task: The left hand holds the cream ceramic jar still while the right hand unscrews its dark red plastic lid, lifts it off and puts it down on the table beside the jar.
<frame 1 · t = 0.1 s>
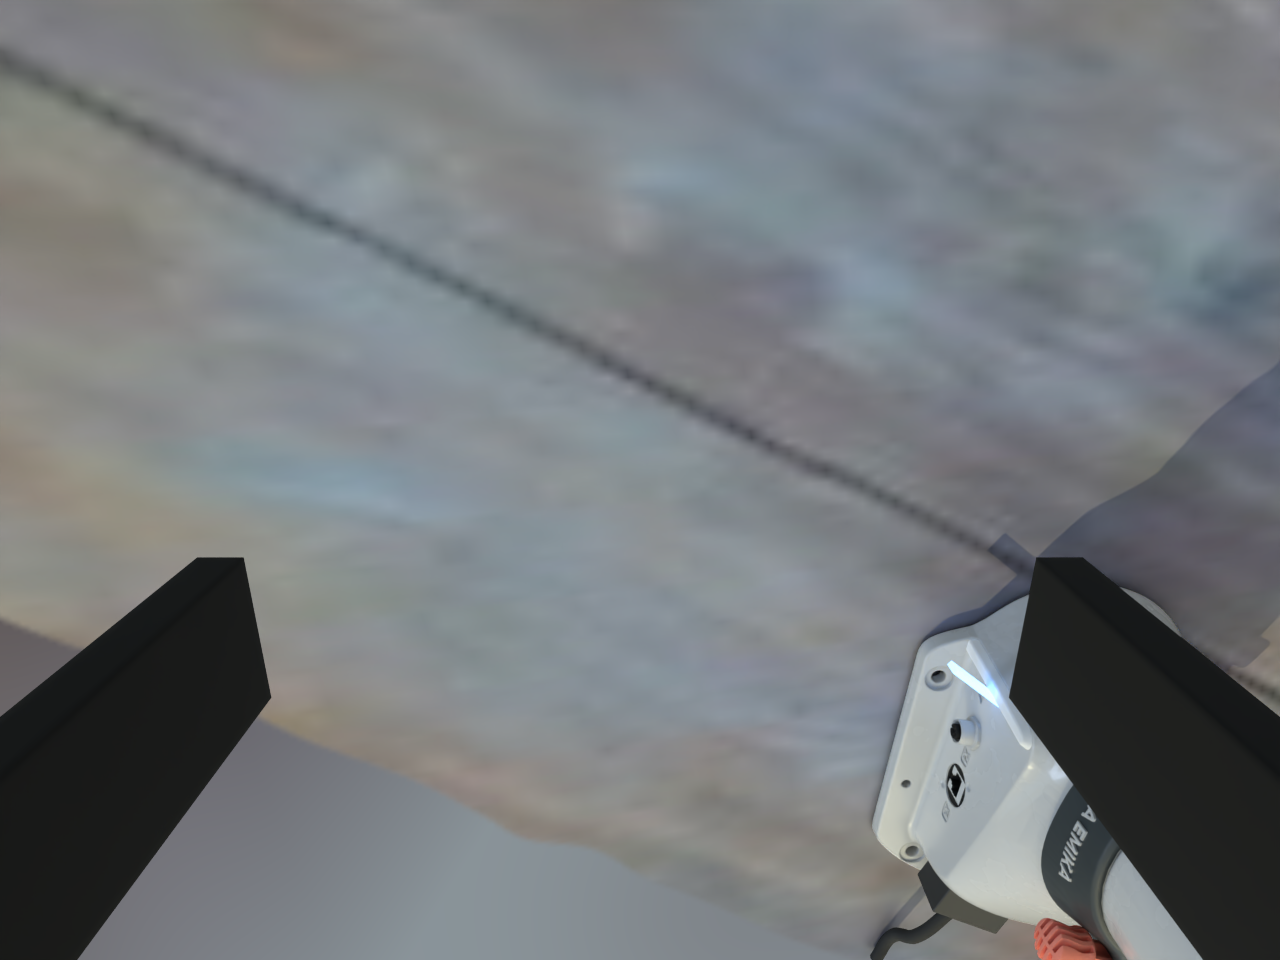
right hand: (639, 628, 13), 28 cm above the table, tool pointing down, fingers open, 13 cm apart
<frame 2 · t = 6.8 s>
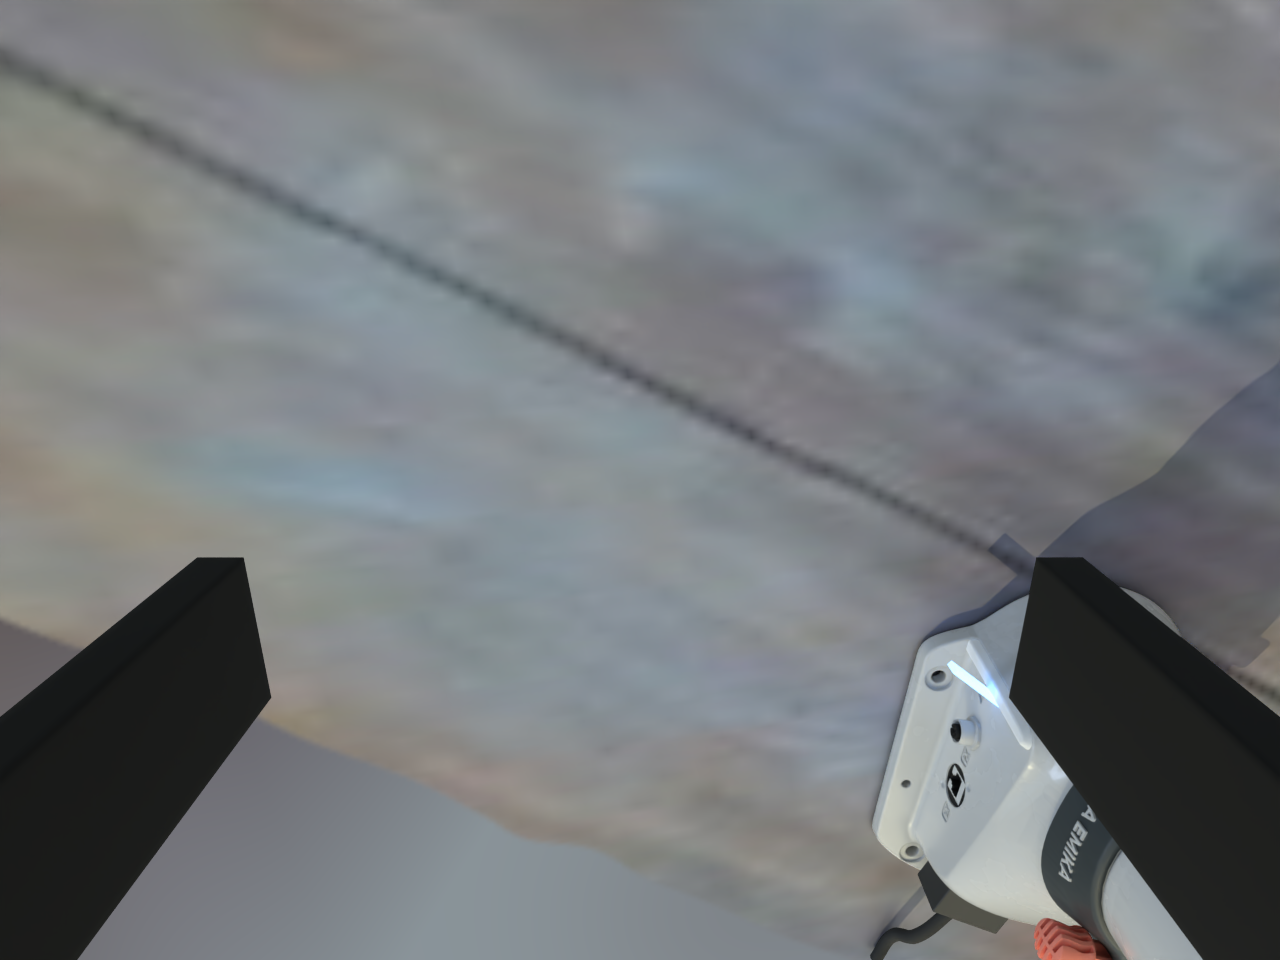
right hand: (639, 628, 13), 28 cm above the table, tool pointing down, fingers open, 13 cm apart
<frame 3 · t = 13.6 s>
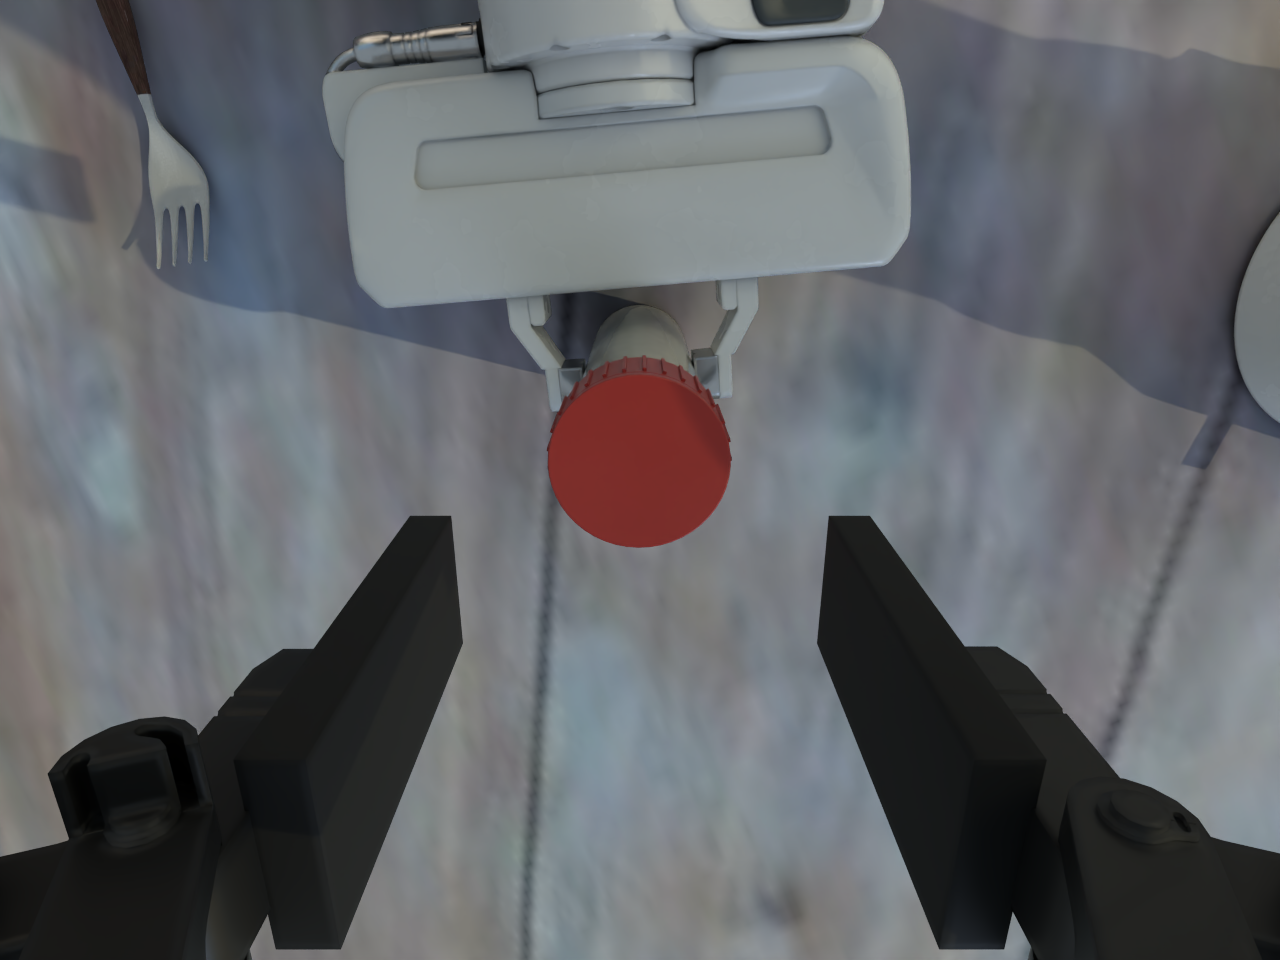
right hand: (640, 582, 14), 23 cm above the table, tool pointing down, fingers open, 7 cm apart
left hand: (642, 401, 31), fingers closed on jar, 4 cm apart
fork: (144, 67, 32), on the table
jar: (639, 352, 36), on the table, touching left hand
lid: (639, 460, 21), point 16 cm above the table, screwed on, not yet turned
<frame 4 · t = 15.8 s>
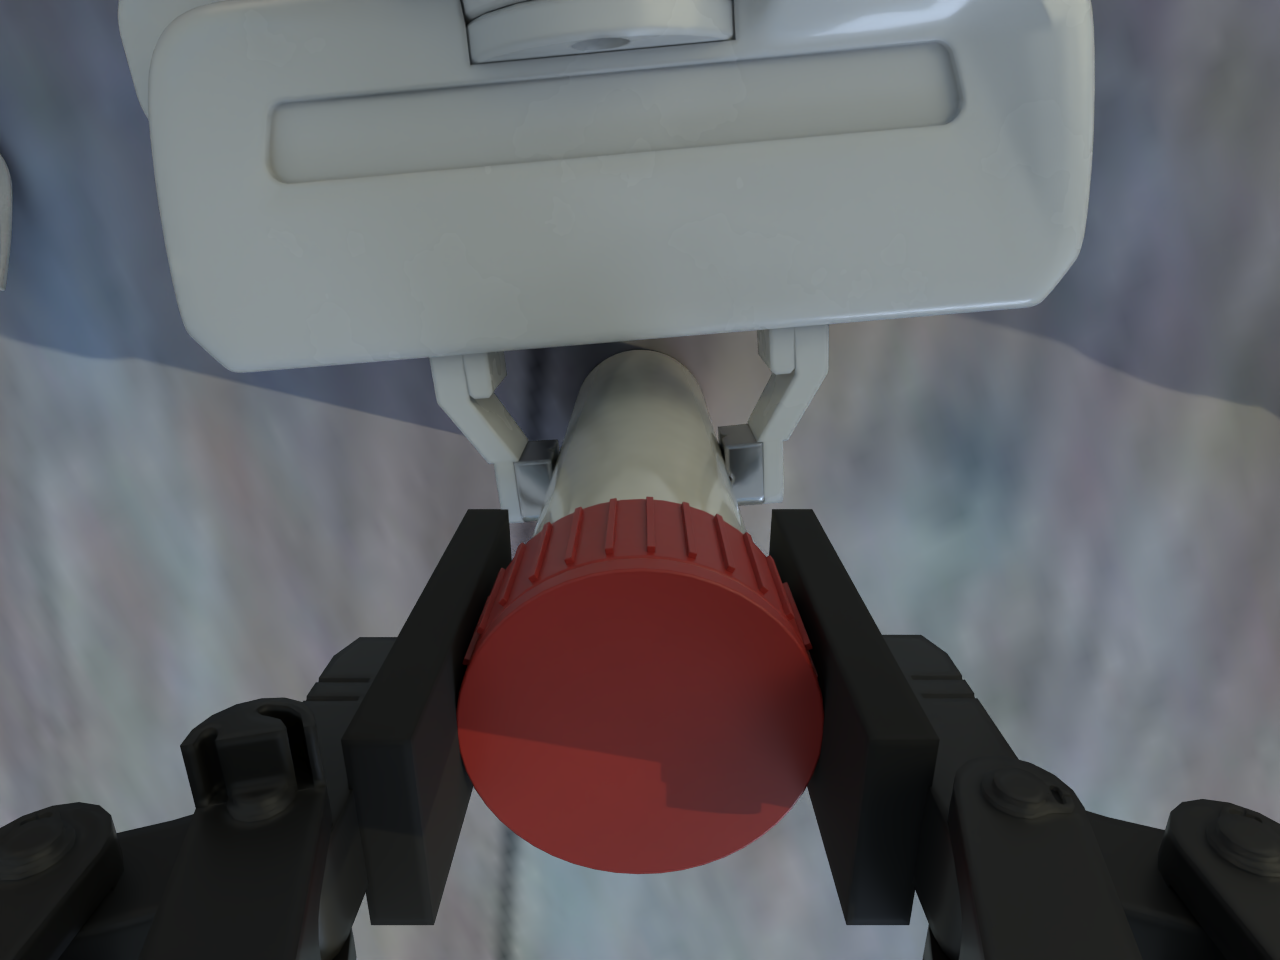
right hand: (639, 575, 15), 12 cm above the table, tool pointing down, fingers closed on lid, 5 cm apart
left hand: (644, 505, 20), fingers closed on jar, 4 cm apart
jar: (640, 414, 26), on the table, touching left hand
lid: (640, 718, 11), point 16 cm above the table, screwed on, not yet turned, touching right hand
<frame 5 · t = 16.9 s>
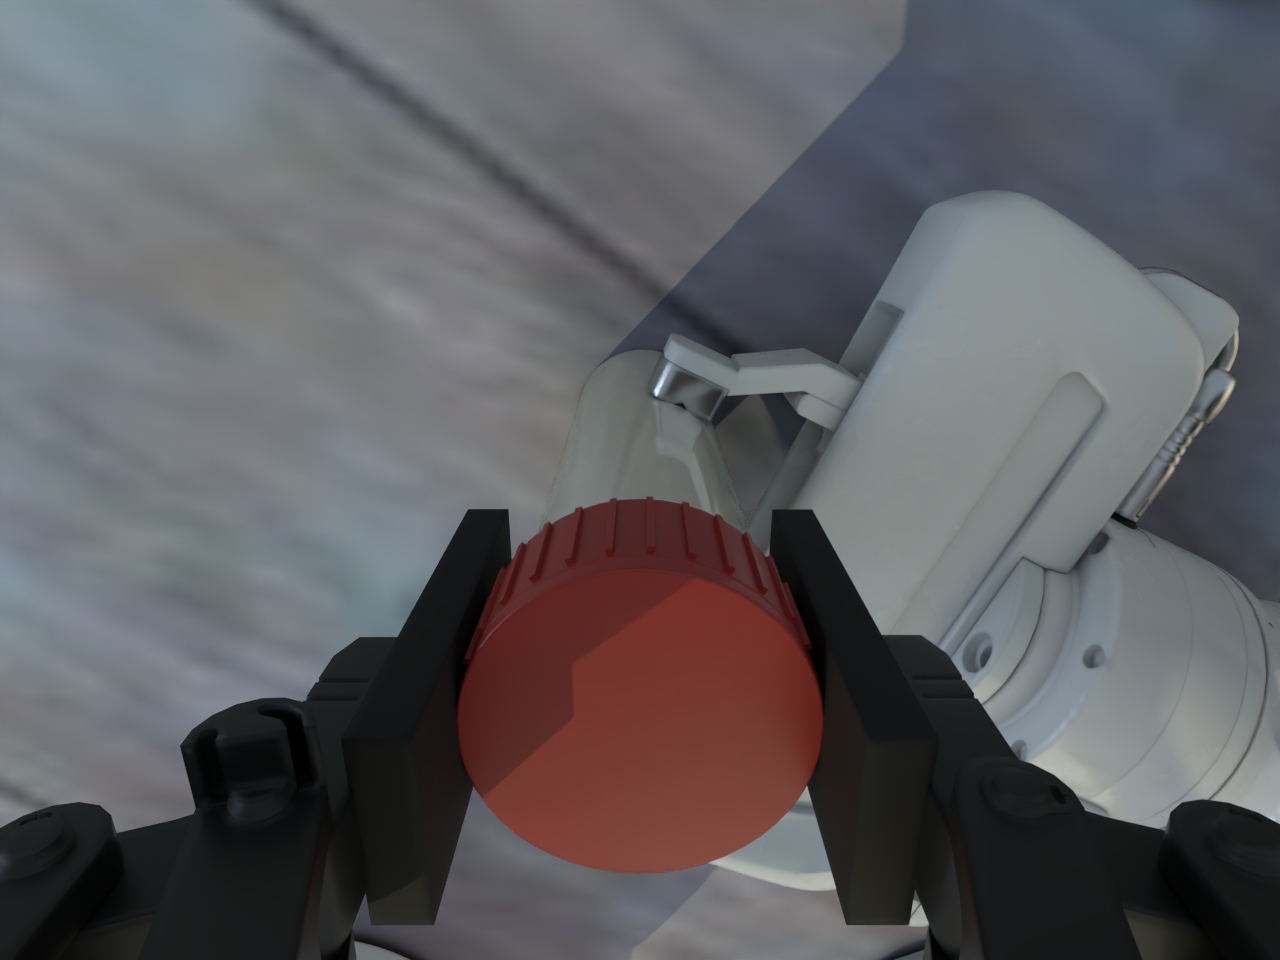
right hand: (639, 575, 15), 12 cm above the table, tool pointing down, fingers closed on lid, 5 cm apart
left hand: (612, 458, 21), fingers closed on jar, 4 cm apart
jar: (642, 412, 26), on the table, touching left hand
lid: (640, 718, 11), point 17 cm above the table, off its thread, touching right hand
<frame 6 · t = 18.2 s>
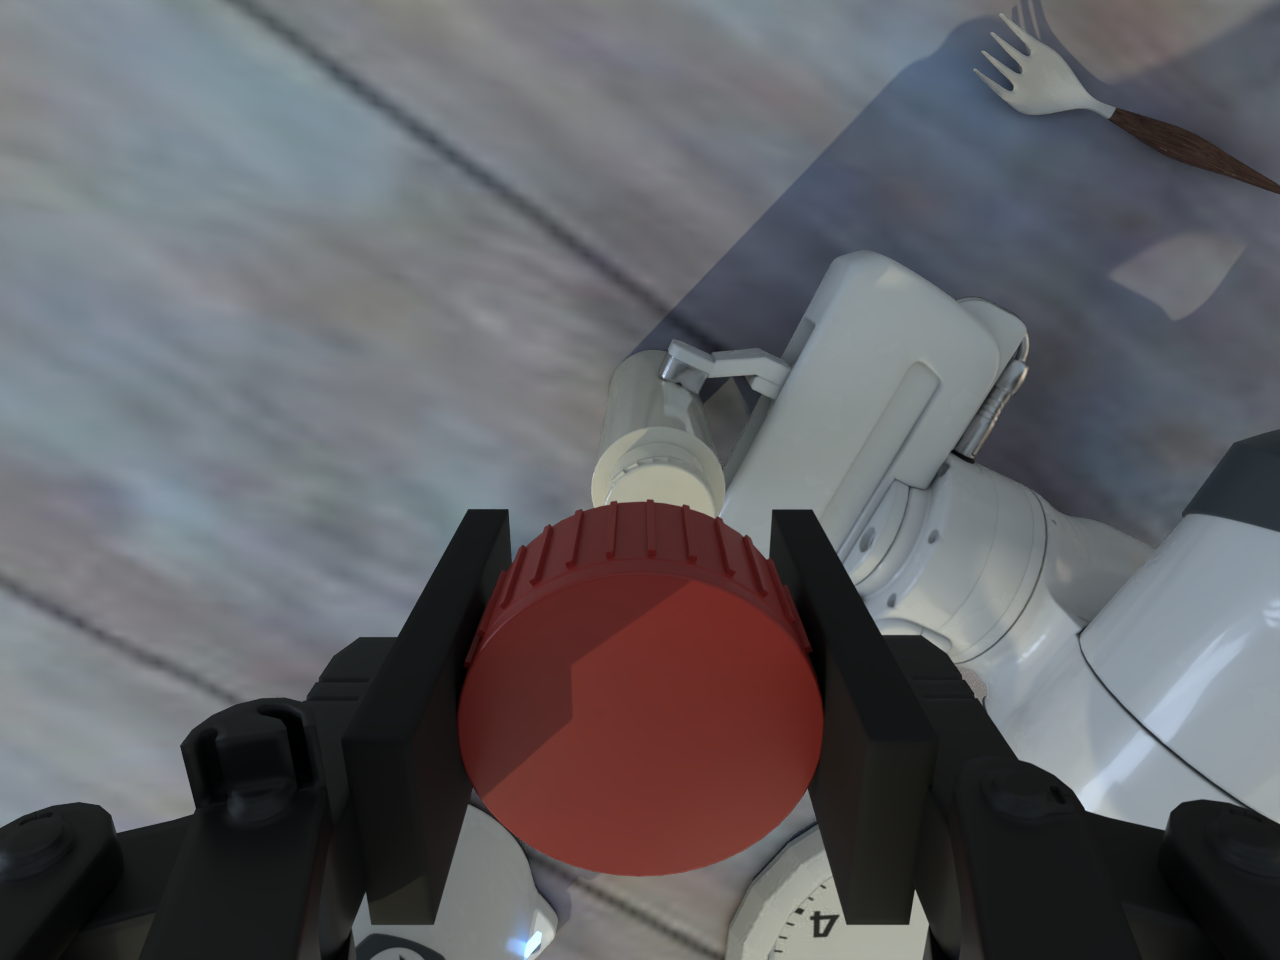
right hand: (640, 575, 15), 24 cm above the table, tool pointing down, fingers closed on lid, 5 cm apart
left hand: (635, 418, 32), fingers closed on jar, 4 cm apart
fork: (1124, 125, 34), on the table
jar: (653, 393, 38), on the table, touching left hand
lid: (640, 721, 11), point 28 cm above the table, off its thread, touching right hand
wall clock: (948, 956, 51), on the table
when the right hand's fingers open (0 cm above the table, at t = 22.5 s): lid drops 2 cm, point 2 cm above the table.
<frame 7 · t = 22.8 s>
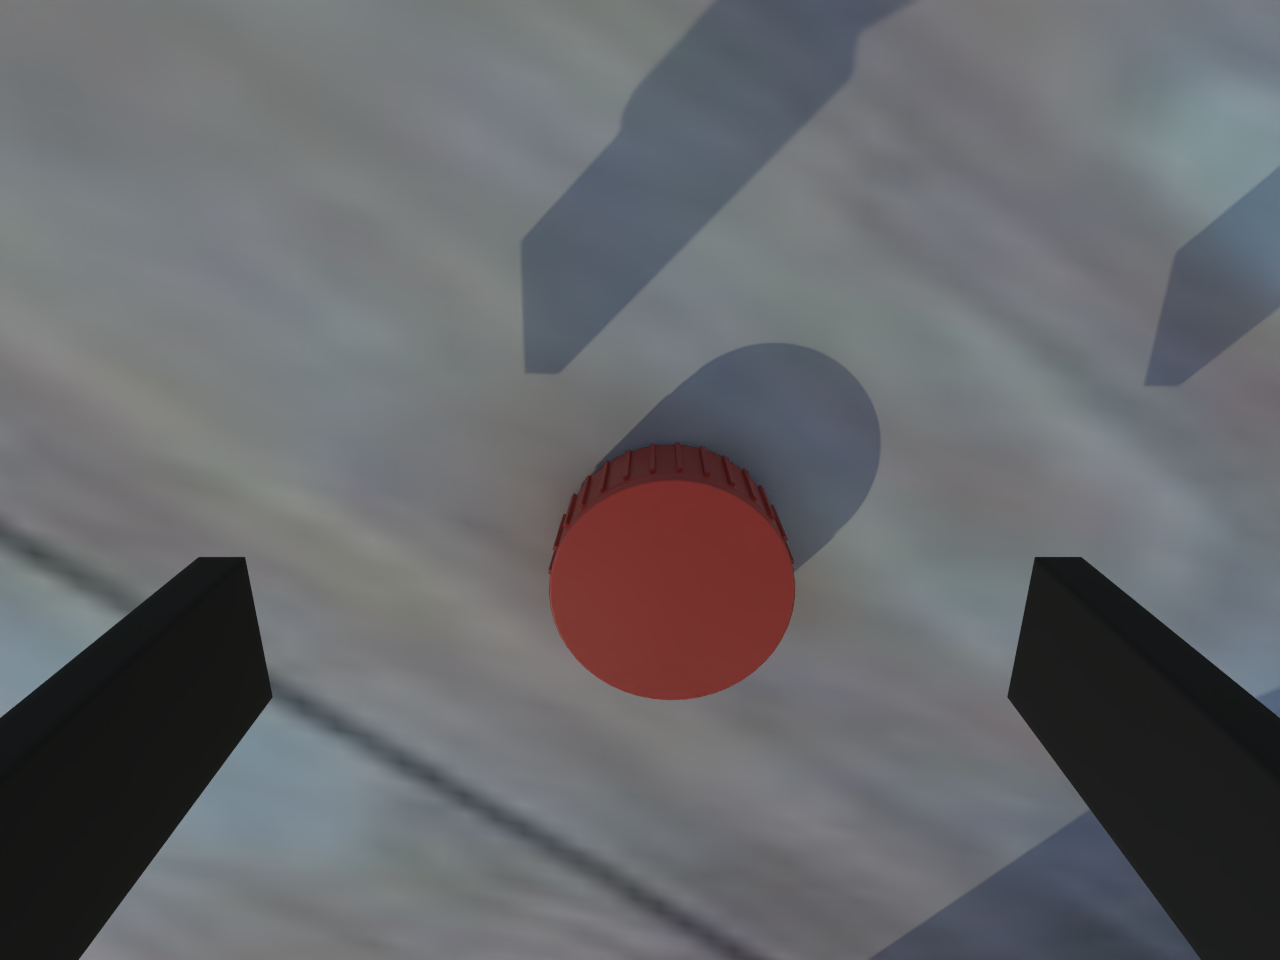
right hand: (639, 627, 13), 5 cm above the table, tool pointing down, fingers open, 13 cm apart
lid: (671, 588, 16), point 2 cm above the table, off its thread
when the left hand's fingers open (6 cm above the table, at t = 23.1 s): jar stays where it is, on the table.
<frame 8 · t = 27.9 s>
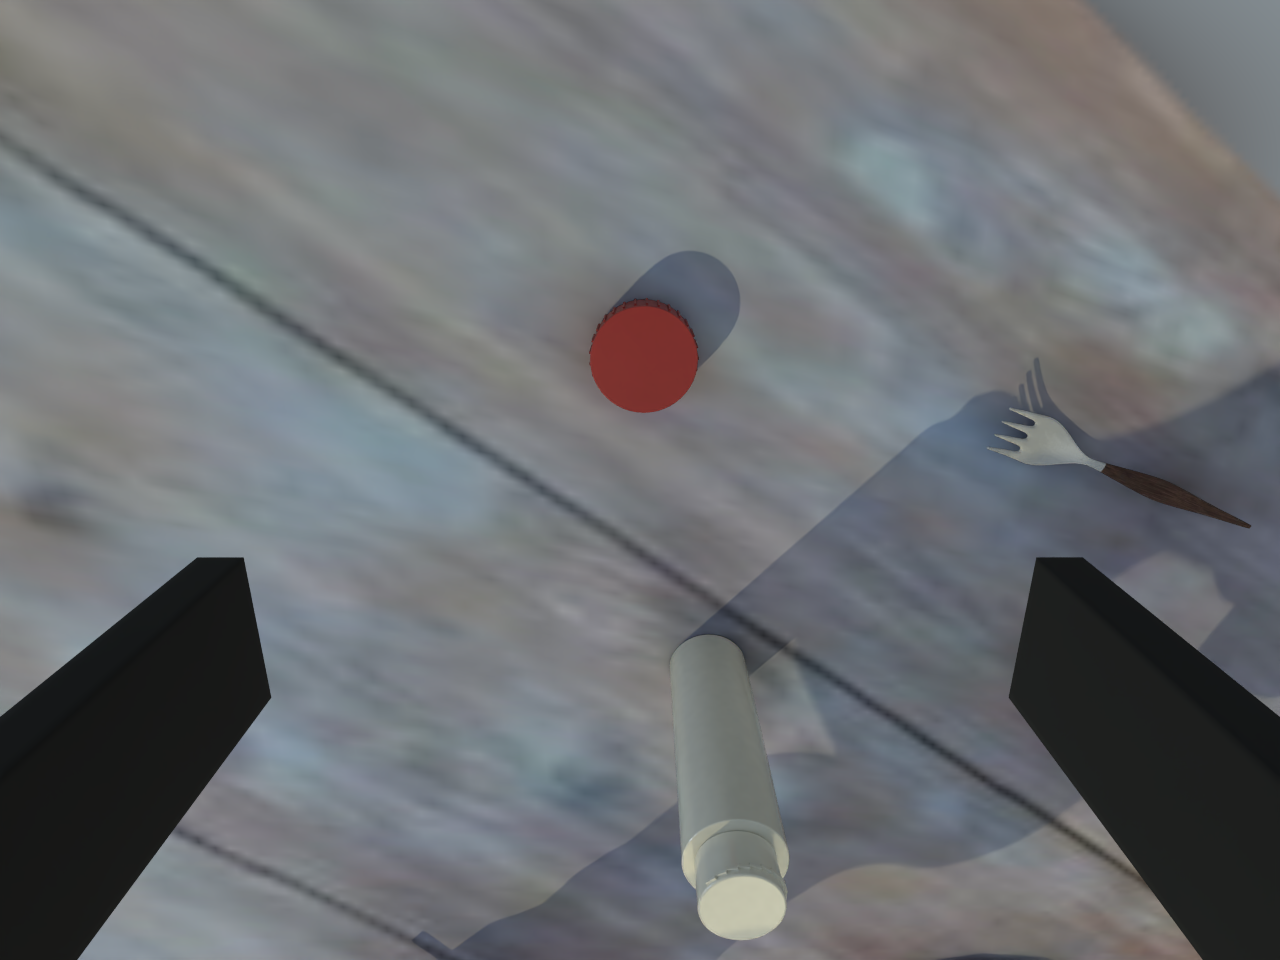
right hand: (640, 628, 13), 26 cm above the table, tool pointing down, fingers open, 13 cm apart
fork: (1113, 470, 40), on the table
jar: (707, 667, 44), on the table
lid: (644, 359, 36), point 2 cm above the table, off its thread
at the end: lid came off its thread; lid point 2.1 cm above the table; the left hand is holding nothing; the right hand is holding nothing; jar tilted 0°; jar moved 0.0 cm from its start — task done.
